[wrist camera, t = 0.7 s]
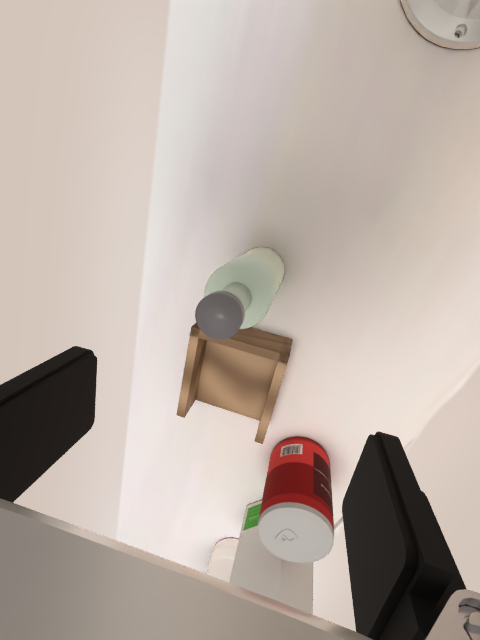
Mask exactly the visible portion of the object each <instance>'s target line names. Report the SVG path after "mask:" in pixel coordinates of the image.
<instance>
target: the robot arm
mask: <svg viewBox="0 0 480 640" xmlns="http://www.w3.org/2000/svg"><path fill="white" fill-rule="evenodd" d="M401 4H402V6H403V9H404V11H405V13H406V16H407V18H408V19H409V21H410V22H411V24H412V25H413V26H414V28H415V29H416V31H418V32H419V33H420V34H421V35H422V36H424V37H425V38H426V39H427V40H429V41H431V42H433V43H435V44H437V45H439V46H442V47H447V48H452V49H474V48H478V47H480V0H401ZM455 33H458V34H459V38H457V37H456V36H455ZM96 374H97V357H96V356H94V353H93V351H92V350H89V349H85V348H81V347H78V346H74V347H72V348H70V349H68V350H66V351H64V352H63V353H60V354H59V355H57V356H55V357H53V358H51V359H50V360H47V361H45V362H43V363H41V364H40V365H38V366H36V367H34V368H32V369H30V370H28V371H26V372H24V373H22V374H20V375H19V376H17V377H15V378H13V379H11V380H9V381H7V382H5V383H3V384H2V385H0V640H480V594H479V593H477V592H474V591H470V590H467V589H466V587H465V585H464V582H463V580H462V578H461V575H460V573H459V571H458V568H457V566H456V564H455V561H454V559H453V557H452V554H451V552H450V550H449V547H448V545H447V543H446V541H445V538H444V536H443V534H442V531H441V529H440V526H439V524H438V522H437V520H436V517H435V515H434V513H433V510H432V508H431V506H430V503H429V501H428V499H427V497H426V495H425V493H423V492H422V491H421V490H420V488H419V485H418V483H417V481H416V478H415V476H414V473H413V471H412V469H411V466H410V464H409V461H408V459H407V456H406V454H405V452H404V449H403V447H402V445H401V442H400V440H399V438H398V437H396V436H392V435H389V434H385V433H382V432H377V433H376V434H375V435H369V436H368V439H367V441H366V444H365V446H364V449H363V451H362V454H361V456H360V459H359V461H358V464H357V466H356V469H355V471H354V474H353V476H352V479H351V482H350V484H349V487H348V489H347V492H346V494H345V497H344V500H343V505H342V513H343V522H344V530H345V539H346V548H347V556H348V564H349V573H350V582H351V591H352V599H353V607H354V616H355V624H356V632H355V631H352V630H350V629H347V628H344V627H342V626H339V625H337V624H335V623H332V622H330V621H327V620H324V619H322V618H319V617H317V616H314V615H312V614H309V613H307V612H304V611H302V610H299V609H297V608H294V607H292V606H289V605H287V604H284V603H281V602H279V601H276V600H274V599H271V598H268V597H266V596H263V595H260V594H258V593H255V592H252V591H250V590H247V589H244V588H242V587H239V586H236V585H234V584H231V583H228V582H226V581H223V580H220V579H218V578H215V577H213V576H210V575H207V574H205V573H202V572H199V571H197V570H194V569H191V568H189V567H186V566H183V565H181V564H178V563H175V562H173V561H170V560H167V559H164V558H162V557H159V556H156V555H154V554H151V553H148V552H146V551H143V550H140V549H137V548H135V547H132V546H129V545H127V544H124V543H121V542H119V541H116V540H113V539H110V538H108V537H105V536H102V535H99V534H96V533H94V532H91V531H88V530H86V529H83V528H81V527H78V526H75V525H72V524H70V523H67V522H64V521H61V520H59V519H56V518H53V517H50V516H47V515H45V514H42V513H39V512H36V511H34V510H31V509H28V508H25V507H22V506H20V505H17V504H14V503H13V502H14V501H15V500H16V499H17V498H18V497H19V496H20V495H21V494H22V493H23V492H24V491H25V490H26V489H28V488H29V487H30V486H31V485H32V484H33V483H34V482H35V481H36V480H37V479H38V478H39V477H40V476H41V475H42V474H43V473H45V471H47V470H48V469H49V468H50V467H51V466H52V465H53V464H54V463H55V462H56V461H57V460H58V459H59V458H60V457H61V456H62V455H64V454H65V453H66V452H67V451H68V450H69V449H70V448H71V447H72V446H73V445H74V444H75V443H76V442H77V441H78V440H79V439H80V438H81V437H83V436H84V435H85V434H86V433H87V432H88V431H89V430H90V429H91V427H92V425H93V423H94V418H95V397H96Z"/></svg>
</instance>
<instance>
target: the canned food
mask: <svg viewBox="0 0 480 640" xmlns="http://www.w3.org/2000/svg"><path fill="white" fill-rule="evenodd" d="M258 535H259V539H260V541H261V542H262V544H263V545H264V546H265V548H266V549H267V550H269V551H270V552H271V553H272V554H274V555H275V556H277V557H279V558H281V559H284V560H287V561H290V562H296V563H310V562H315V561H318V560H320V559H322V558H324V557H325V556H326V555H327V554H329V552H330V551H331V549H332V546H333V540H334V522H333V506H332V490H331V474H330V462H329V459H328V457H327V455H326V453H325V451H324V449H323V448H322V447H321V446H320V445H319V444H317V443H316V442H314V441H312V440H310V439H307V438H301V437H294V438H289V439H286V440H284V441H282V442H280V443H279V444H278V445H277V446H276V447H275V449H274V450H273V452H272V454H271V457H270V462H269V467H268V472H267V478H266V483H265V488H264V493H263V499H262V504H261V509H260V514H259V521H258Z"/></svg>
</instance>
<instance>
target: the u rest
mask: <svg viewBox="0 0 480 640" xmlns="http://www.w3.org/2000/svg"><path fill="white" fill-rule="evenodd" d="M291 345H292V339H288V338H285V337H281V336H278V335H274V334H271V333H267V332H264V331H261V330H257V329H254V328H250V327H249V328H246V329H239V330H238V332H237V333H236V334H235V335H234V336H232V337H231V338H228V339H225V340H216V339H213V338H210V337H208V336H207V335H205V334H204V333H203V332H202V331H201V330H200V328H199V327H198V325H197V323H195V324H194V325H193V326H192V327H191V332H190V338H189V344H188V350H187V356H186V362H185V368H184V374H183V380H182V386H181V392H180V398H179V404H178V410H177V415H178V416H181V417H185V416H186V414H187V412H188V411H189V409H190V408H191V406H192V405H193V403H194V401H195V400H198V401H201V402H204V403H207V404H211V405H214V406H217V407H220V408H223V409H226V410H229V411H232V412H235V413H238V414H241V415H244V416H247V417H250V418H253V419H256V420H259V421H260V423H259V426H258V430H257V434H256V438H255V442H258V443H261V444H263V441H264V438H265V435H266V431H267V428H268V425H269V422H270V418H271V415H272V412H273V408H274V405H275V402H276V399H277V395H278V392H279V389H280V385H281V382H282V379H283V376H284V372H285V369H286V366H287V362H288V359H289V356H290V350H291Z"/></svg>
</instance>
